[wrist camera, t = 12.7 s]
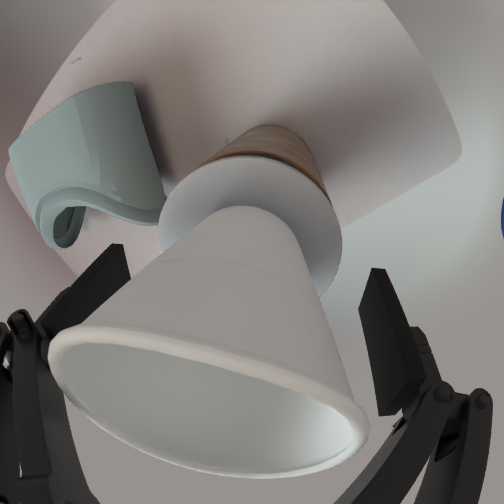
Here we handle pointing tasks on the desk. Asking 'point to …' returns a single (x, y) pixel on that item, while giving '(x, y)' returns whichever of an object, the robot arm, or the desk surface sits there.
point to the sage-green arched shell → (88, 164)
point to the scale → (262, 196)
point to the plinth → (274, 150)
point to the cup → (218, 357)
